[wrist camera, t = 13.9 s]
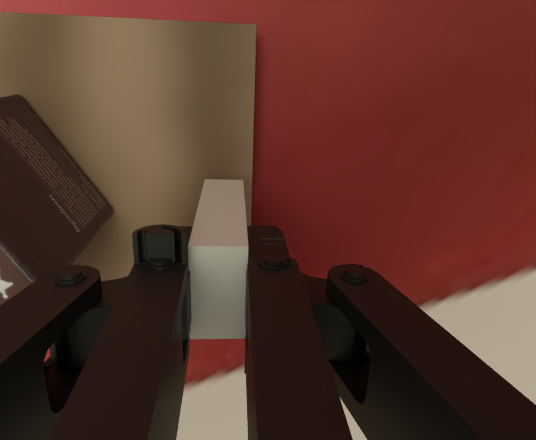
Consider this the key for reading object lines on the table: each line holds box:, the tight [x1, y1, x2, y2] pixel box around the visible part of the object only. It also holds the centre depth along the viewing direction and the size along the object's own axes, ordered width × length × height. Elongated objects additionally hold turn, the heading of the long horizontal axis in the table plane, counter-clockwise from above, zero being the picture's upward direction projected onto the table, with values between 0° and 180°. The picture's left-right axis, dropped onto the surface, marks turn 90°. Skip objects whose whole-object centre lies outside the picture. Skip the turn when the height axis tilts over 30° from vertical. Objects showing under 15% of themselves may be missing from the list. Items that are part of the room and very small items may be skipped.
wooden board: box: [0, 12, 256, 281], centre depth 20 cm, size 16×14×3 cm
